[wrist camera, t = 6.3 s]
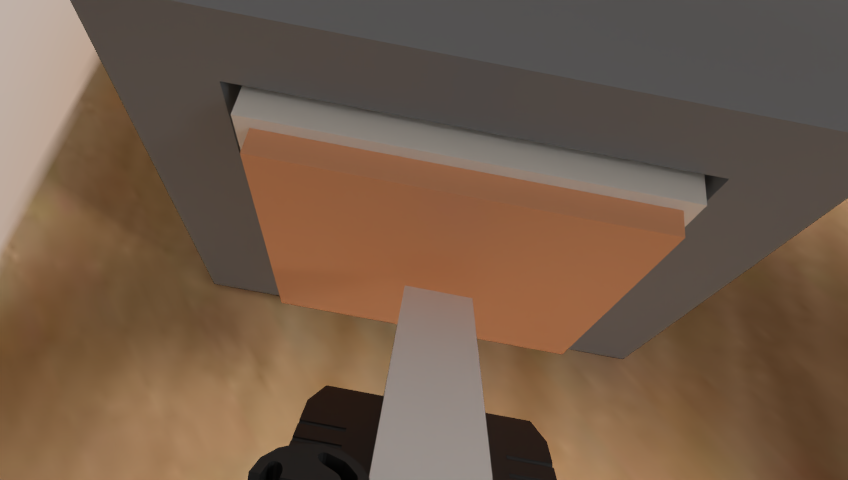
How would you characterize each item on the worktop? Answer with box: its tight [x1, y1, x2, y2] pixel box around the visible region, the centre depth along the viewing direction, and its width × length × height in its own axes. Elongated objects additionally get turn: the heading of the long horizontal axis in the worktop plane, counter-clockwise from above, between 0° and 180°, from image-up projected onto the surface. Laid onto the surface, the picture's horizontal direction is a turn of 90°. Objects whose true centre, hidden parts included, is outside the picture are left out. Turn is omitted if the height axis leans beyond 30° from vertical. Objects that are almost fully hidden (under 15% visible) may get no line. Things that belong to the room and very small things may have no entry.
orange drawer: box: [231, 86, 707, 354], centre depth 16 cm, size 8×9×8 cm
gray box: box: [70, 0, 848, 359], centre depth 17 cm, size 11×14×12 cm
